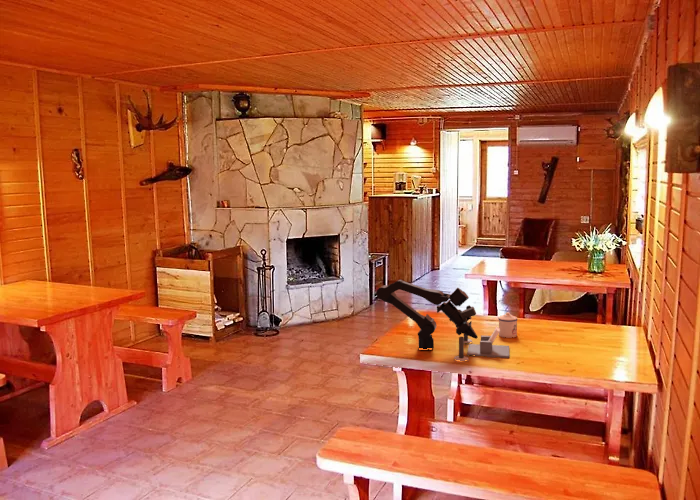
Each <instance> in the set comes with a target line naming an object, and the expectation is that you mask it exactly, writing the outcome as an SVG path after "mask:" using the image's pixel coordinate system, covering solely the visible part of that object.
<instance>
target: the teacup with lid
mask: <svg viewBox="0 0 700 500" xmlns="http://www.w3.org/2000/svg"><path fill="white" fill-rule="evenodd" d="M498 328H500V332H499V333H498V336H500V337H501V338H505V337H506V338H512V337H513V338H515V337H517V336H518V317H517V316H514V315H513V314H511V313H510V312H509V311H507V312H506V313H505V314H503V315H500V316H499V317H498Z"/></svg>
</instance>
